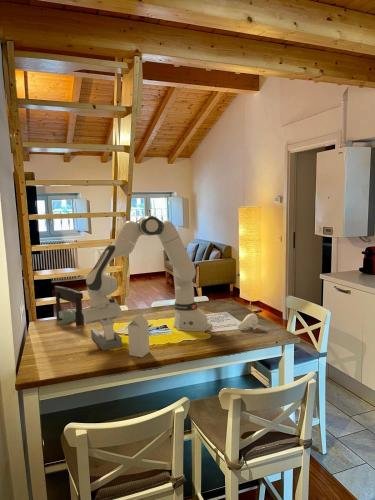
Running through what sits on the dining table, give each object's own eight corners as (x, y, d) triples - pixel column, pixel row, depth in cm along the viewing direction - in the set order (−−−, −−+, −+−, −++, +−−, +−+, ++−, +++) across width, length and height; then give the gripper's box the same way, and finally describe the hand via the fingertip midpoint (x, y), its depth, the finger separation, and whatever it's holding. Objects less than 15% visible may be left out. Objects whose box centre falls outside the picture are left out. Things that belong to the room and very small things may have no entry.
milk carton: (149, 352, 174) (148, 314, 171) (141, 357, 167) (140, 318, 165) (137, 349, 177) (135, 312, 174) (129, 355, 170) (127, 317, 168)
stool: (65, 282, 240) (93, 289, 218) (67, 313, 242) (95, 322, 221) (43, 287, 228) (70, 294, 206) (45, 318, 231) (72, 329, 209)
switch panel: (91, 336, 196) (90, 329, 196) (109, 333, 201) (108, 325, 200) (102, 350, 177) (102, 341, 177) (122, 346, 182) (121, 337, 181)
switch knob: (103, 338, 185) (102, 320, 183) (112, 336, 187) (111, 319, 186) (105, 341, 180) (104, 323, 179) (115, 339, 183) (114, 321, 182)
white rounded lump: (258, 314, 200) (240, 319, 196) (260, 328, 201) (241, 334, 197) (252, 311, 206) (234, 316, 202) (254, 325, 207) (236, 330, 203)
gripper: (81, 305, 186) (87, 328, 179) (119, 299, 196) (126, 320, 189) (80, 311, 191) (85, 334, 184) (117, 305, 201) (123, 326, 194)
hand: (106, 327), depth 186 cm, fingers closed
